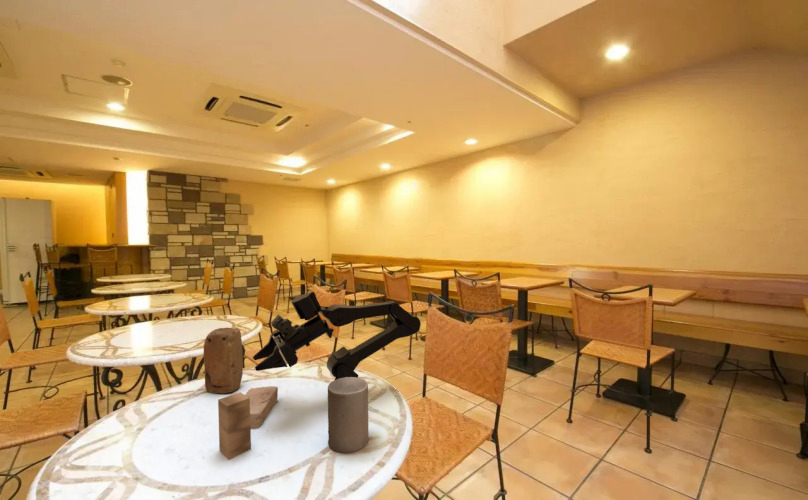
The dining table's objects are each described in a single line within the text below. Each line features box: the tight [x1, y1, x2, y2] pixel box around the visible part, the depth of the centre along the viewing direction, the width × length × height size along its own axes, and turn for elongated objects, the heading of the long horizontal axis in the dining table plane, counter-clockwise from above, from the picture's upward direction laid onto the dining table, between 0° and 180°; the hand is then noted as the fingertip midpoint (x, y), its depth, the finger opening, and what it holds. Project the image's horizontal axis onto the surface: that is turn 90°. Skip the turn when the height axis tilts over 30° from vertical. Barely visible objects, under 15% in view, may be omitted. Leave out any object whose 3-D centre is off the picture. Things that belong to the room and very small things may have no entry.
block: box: [203, 327, 244, 394], centre depth 111 cm, size 11×8×20 cm
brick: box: [244, 385, 279, 430], centre depth 95 cm, size 17×8×5 cm, turn 4°
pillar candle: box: [327, 377, 369, 454], centre depth 80 cm, size 10×10×15 cm
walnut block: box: [217, 391, 252, 460], centre depth 78 cm, size 5×5×12 cm
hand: (254, 363), depth 91 cm, fingers open, 9 cm apart
